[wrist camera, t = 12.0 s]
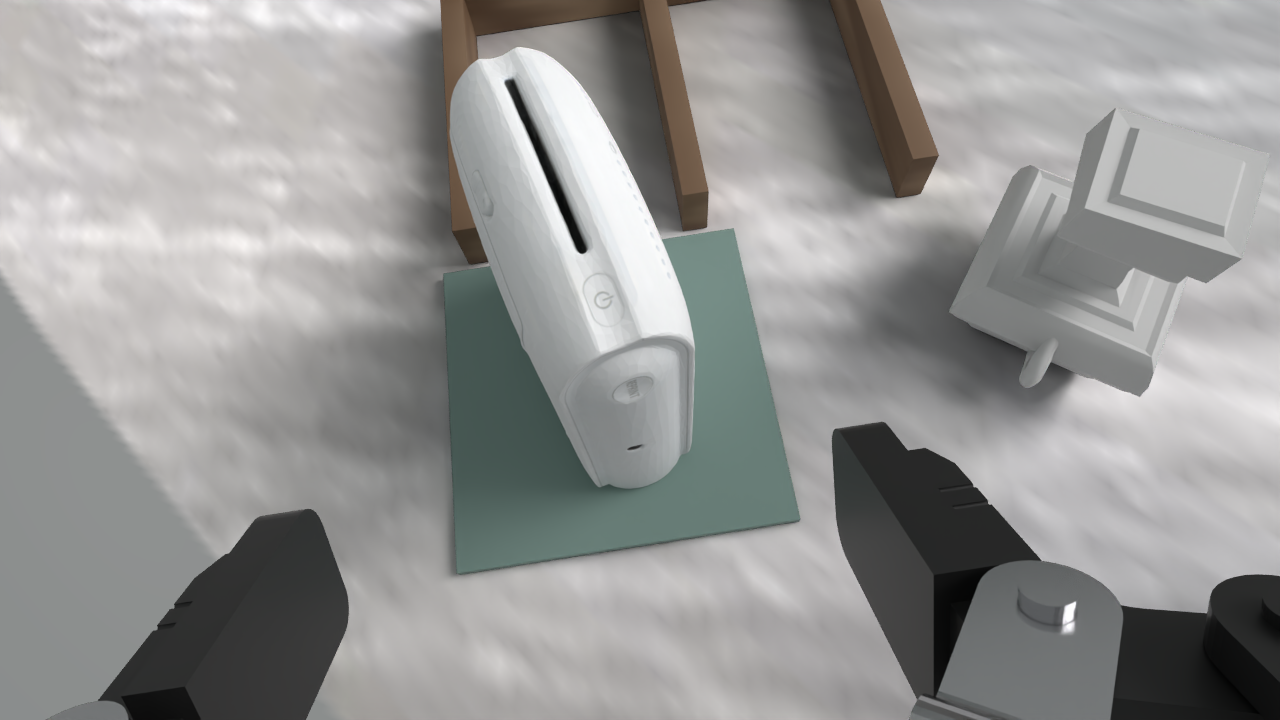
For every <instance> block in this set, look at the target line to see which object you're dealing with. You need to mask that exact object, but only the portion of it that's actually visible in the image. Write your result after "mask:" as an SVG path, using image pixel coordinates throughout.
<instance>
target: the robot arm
mask: <svg viewBox="0 0 1280 720" xmlns="http://www.w3.org/2000/svg"><path fill="white" fill-rule="evenodd" d="M832 453H833V470H834V488H835V505H836V519H837V526H838V532H839V536H840V540H841V544H842V547H843V550H844V553H845V556H846V558H847V560H848V562H849V564H850V566H851V568H852V570H853V572H854V574H855V576H856V578H857V580H858V582H859V584H860V586H861V588H862V590H863V592H864V594H865V596H866V598H867V600H868V602H869V604H870V606H871V608H872V610H873V612H874V614H875V616H876V618H877V620H878V622H879V624H880V626H881V628H882V630H883V632H884V634H885V636H886V638H887V640H888V642H889V644H890V646H891V648H892V650H893V652H894V654H895V656H896V658H897V660H898V662H899V664H900V666H901V668H902V670H903V672H904V674H905V676H906V678H907V680H908V682H909V684H910V686H911V688H912V690H913V692H914V694H915V696H916V698H917V702H916V703H915V705H914V708H913V710H912V712H911V715H910V717H909V720H1280V576H1274V575H1244V576H1238V577H1233V578H1230V579H1227V580H1225V581H1223V582H1221V583H1220V584H1218V585H1217V586H1216V587H1215V588H1214V589H1213V591H1212V593H1211V596H1210V601H1209V607H1208V613H1207V614H1205V613H1192V612H1179V611H1166V610H1153V609H1142V608H1133V607H1127V606H1122V605H1120V603H1119V602H1118V600H1117V598H1116V597H1115V596H1114V595H1113V593H1112V592H1111V591H1110V590H1109V589H1108V588H1107V587H1105V586H1104V585H1103V584H1102V583H1100V582H1099V581H1097V580H1096V579H1094V578H1093V577H1091V576H1089V575H1087V574H1085V573H1083V572H1081V571H1078V570H1076V569H1073V568H1070V567H1068V566H1064V565H1060V564H1056V563H1051V562H1045V561H1041V559H1040V558H1039V557H1038V556H1037V555H1036V554H1035V553H1034V552H1033V550H1032V549H1031V548H1030V547H1029V546H1028V545H1027V544H1026V543H1025V541H1024V540H1023V539H1022V538H1021V537H1020V536H1019V535H1018V534H1017V533H1016V531H1015V530H1014V529H1013V528H1012V527H1011V526H1010V525H1009V524H1008V522H1007V521H1006V520H1005V519H1004V518H1003V517H1002V516H1001V515H1000V513H999V512H998V511H997V510H996V509H995V508H994V507H993V506H992V505H989V504H988V500H987V499H986V498H985V497H984V495H983V494H982V493H981V492H980V491H979V490H978V489H977V488H976V487H975V488H974V487H973V483H972V482H971V481H970V480H969V479H968V478H967V476H966V475H965V474H964V473H963V472H962V471H961V470H960V469H959V467H958V466H957V465H956V464H955V463H953V462H952V461H950V460H948V459H946V458H944V457H942V456H940V455H938V454H936V453H934V452H932V451H930V450H928V449H926V448H922V449H916V450H909V451H908V450H907V449H906V448H905V446H904V445H903V444H902V443H901V441H900V440H899V439H898V438H897V436H896V435H895V434H894V433H893V431H892V430H891V429H890V428H889V426H888V425H887V424H886V423H884V422H878V423H871V424H865V425H858V426H852V427H845V428H839V429H835V430H834V431H833V435H832ZM174 605H175V608H174V609H170V610H169V611H168V613H167V614H166V615H165V617H164V618H163V619H162V620H161V621H160V623H159V624H158V625H157V626H158V630H156V631H153V632H152V633H151V634H150V635H149V637H148V638H147V639H146V640H145V642H144V643H143V644H142V645H141V647H140V648H139V649H138V651H137V652H136V653H135V654H134V656H133V657H132V658H131V659H130V661H129V662H128V663H127V664H126V666H125V667H124V668H123V669H122V671H121V672H120V673H119V675H118V676H117V677H116V679H115V680H114V681H113V682H112V683H111V685H110V686H109V687H108V689H107V690H106V691H105V692H104V694H103V695H102V696H101V697H100V699H99V700H98V701H96V702H90V703H86V704H82V705H78V706H75V707H73V708H70V709H67V710H65V711H62V712H60V713H58V714H56V715H54V716H52V717H50V718H48V719H46V720H306V718H307V716H308V714H309V711H310V709H311V707H312V705H313V703H314V701H315V698H316V696H317V694H318V692H319V689H320V687H321V685H322V683H323V681H324V678H325V676H326V674H327V672H328V669H329V667H330V665H331V663H332V660H333V658H334V656H335V654H336V652H337V649H338V647H339V645H340V643H341V640H342V638H343V636H344V634H345V631H346V628H347V623H348V615H349V605H348V596H347V592H346V588H345V585H344V583H343V580H342V577H341V574H340V572H339V569H338V566H337V563H336V561H335V558H334V555H333V552H332V550H331V547H330V544H329V541H328V538H327V536H326V533H325V530H324V527H323V525H322V522H321V520H320V518H319V516H318V515H317V514H316V512H314V511H313V510H311V509H305V510H298V511H292V512H285V513H279V514H272V515H266V516H260V517H258V518H257V519H255V521H254V522H253V523H252V524H251V525H250V527H249V528H248V529H247V531H246V532H245V533H244V535H243V536H242V537H241V539H240V540H239V541H238V543H237V544H236V545H235V547H234V548H233V549H232V550H231V552H230V553H229V554H225V555H224V556H223V557H221V558H220V559H219V560H217V561H216V562H215V563H214V564H212V565H211V566H210V567H208V568H207V569H206V570H205V571H203V572H202V573H201V574H199V575H198V576H197V577H196V578H194V580H193V581H192V582H191V583H190V585H189V586H188V587H187V589H186V590H185V591H184V592H183V594H182V595H181V596H180V598H179V599H178V600H177V601H176V602H175V604H174Z"/></svg>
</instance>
